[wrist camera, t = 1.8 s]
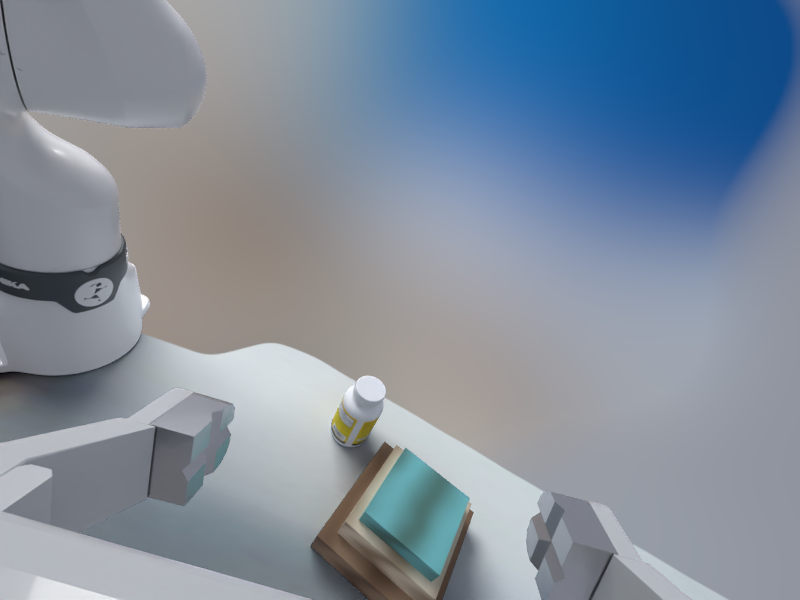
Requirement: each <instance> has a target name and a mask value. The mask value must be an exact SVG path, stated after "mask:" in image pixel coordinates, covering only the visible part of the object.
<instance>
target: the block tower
mask: <svg viewBox="0 0 800 600" xmlns="http://www.w3.org/2000/svg"><path fill="white" fill-rule="evenodd" d="M469 499H470V498H469V497H467V496H466V495H465V494H464V493H462V492H461V491H460V490H459V489H457V488H456V487H455V486H453V485H452V484H451V483H450V482H448V481H447V480H446V479H445V478H443V477H442V476H441V475H440V474H438V473H437V472H436V471H434V470H433V469H432V468H431V467H429V466H428V465H427V464H426V463H424V462H423V461H422V460H421V459H419V458H418V457H417V456H415V455H414V454H413V453H412V452H410V451H409V450H408V449H407V448H405V449H404V451H403V450H402V449H401V448H400V447H398V446H396V447H395V448H394V449H393V448H392V447H391V446H389V445H388V444H387V443H386V442H384V443H383V445H382V446H381V447H380V449H379V450H378V452H377V453H376V454H375V456H374V457H373V459H372V460H371V461H370V463H369V464H368V466H367V467H366V468H365V470H364V471H363V473H362V474H361V475H360V477H359V478H358V480H357V481H356V482H355V484H354V485H353V487H352V488H351V489H350V491H349V492H348V494H347V495H346V496H345V498H344V499H343V501H342V502H341V503H340V505H339V506H338V508H337V509H336V510H335V512H334V513H333V515H332V516H331V517H330V519H329V520H328V522H327V523H326V524H325V526H324V527H323V528H322V530H321V531H320V533H319V534H318V535H317V537H316V538H315V540H314V542H313V543H312V545H311V547H312V548H313V549H314V550H315V551H316V552H317V553H319V554H320V555H321V556H322V557H323V558H324V559H325V560H326V561H327V562H328V563H330V564H331V565H332V566H333V567H334V568H335V569H336V570H337V571H338V572H339V573H341V574H342V575H343V576H344V577H345V578H346V579H347V580H348V581H349V582H350V583H352V584H353V585H354V586H355V587H356V588H357V589H358V590H359V591H360V592H361V593H363V594H364V595H365V596H366V597H367V598H368V599H369V600H442V599H443V596H444V593H445V590H446V588H447V585H448V582H449V579H450V576H451V574H452V571H453V568H454V565H455V563H456V560H457V557H458V554H459V551H460V549H461V546H462V543H463V540H464V538H465V535H466V532H467V529H468V526H469V524H470V521H471V518H472V515H473V513H474V512H472V511H471V510H470V506H471V504H470V503H469V502H468V501H469Z"/></svg>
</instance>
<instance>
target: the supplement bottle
mask: <svg viewBox="0 0 800 600" xmlns="http://www.w3.org/2000/svg"><path fill="white" fill-rule="evenodd" d="M385 394H386V389H385V386H384V384H383V383H382V382H381V381H380V380H379V379H377V378H376V377H373V376H363V377H361V378H359V379H358V381H357V382H356V384H355V385H353V386H351V387H350V388H349V389H348V390H347V391H346V393H345V394H344V397H343V399H342V401H341V403H340V405H339V407H338V409H337V412H336V414H335V416H334V418H333V420H332V423H331V432H332V435H333V437H334V439H335V440H336V441H337V442H338V443H339V444H341V445H343V446H346V447H356V446H359V445H361V444H362V443H363V442H364V441H365V440H366V438H367V437H368V435H369V433H370V432H371V430H372V428H373V427H374V425H375V423H376V421H377V420H378V418H379V416H380V415H381V413H382V411H383V399H384V397H385Z"/></svg>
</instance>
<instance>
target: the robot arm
mask: <svg viewBox="0 0 800 600" xmlns="http://www.w3.org/2000/svg"><path fill="white" fill-rule="evenodd" d="M205 91H206V69H205V63H204V59H203V56H202V52H201V50H200V47H199V45H198V43H197V41H196V39H195V37H194V35H193V33H192V32H191V30H190V29H189V27H188V25H187V24H186V23H185V21H184V20H183V19H182V17H181V16H180V15H179V14H178V13H177V12H176V11H175V10H174V9H173V7H172V6H171V5H170V4H169V3H168V2H167V1H166V0H0V372H10V371H15V372H24V373H30V374H37V375H69V374H76V373H81V372H86V371H90V370H93V369H96V368H99V367H102V366H105V365H107V364H109V363H111V362H113V361H115V360H117V359H119V358H120V357H122V356H123V355H124V354H126V353H127V352H128V351H129V350H130V349H131V348H132V347H133V346H134V345H135V344H136V343H137V341H138V340H139V338H140V335H141V332H142V319H143V316H144V315H145V313H146V312H147V310H148V309H149V307H150V303H149V299H148V298H147V297H146V296H144V295H142V294H140V288H139V283H138V276H137V271H136V267H135V266H134V265H133V264H131V263H129V262H128V250H127V246H126V242H125V239H124V237H123V235H122V234H121V229H120V213H119V199H118V188H117V185H116V183H115V181H114V179H113V177H112V176H111V174H110V173H109V172H108V170H107V169H106V168H105V167H104V166H103V165H102V164H101V163H100V162H98V161H97V160H96V159H95V158H93V157H92V156H91V155H90V154H88V153H87V152H85V151H84V150H82V149H80V148H78V147H76V146H75V145H73V144H71V143H69V142H67V141H65V140H62V139H61V138H59V137H57V136H55V135H53V134H52V133H50V132H49V131H47V130H46V129H44V128H43V127H41V125H39V124H38V123H37V122H36V121H35V120H34V119H33V118H32V117H31V116H30V115H29V114H28V113H27V112H26V111H35V112H41V113H46V114H52V115H58V116H63V117H69V118H75V119H80V120H86V121H92V122H97V123H103V124H110V125H114V126H120V127H126V128H181V127H183V126H184V125H185V124H187V123H188V122H189V121H190V120H191V119H192V118H193V117H194V116H195V115H196V113H197V112H198V110H199V109H200V107H201V104H202V102H203V99H204V96H205ZM234 411H235V407H234V405H233V404H232V403H229V402H226V401H222V400H219V399H216V398H212V397H209V396H206V395H202V394H199V393H195V392H192V391H189V390H185V389H181V388H173V389H171V390H169V391H168V392H166V393H165V394H163V395H162V396H160V397H159V398H157V399H156V400H154V401H153V402H151V403H150V404H148V405H147V406H145V407H144V408H142V409H141V410H139V411H138V412H136V413H135V414H133V415H132V416H130V417H129V418H127V419H126V418H122V417H118V418H114V419H109V420H104V421H100V422H95V423H91V424H86V425H81V426H77V427H72V428H68V429H63V430H58V431H54V432H49V433H45V434H40V435H35V436H31V437H26V438H22V439H17V440H12V441H8V442H3V443H0V600H313V599H309V598H306V597H302V596H299V595H295V594H292V593H288V592H285V591H281V590H278V589H274V588H271V587H267V586H263V585H260V584H256V583H253V582H249V581H246V580H242V579H239V578H235V577H232V576H228V575H225V574H221V573H218V572H214V571H211V570H207V569H204V568H200V567H197V566H193V565H190V564H186V563H182V562H179V561H175V560H172V559H168V558H165V557H161V556H158V555H154V554H151V553H147V552H144V551H140V550H137V549H133V548H130V547H126V546H123V545H119V544H116V543H112V542H109V541H105V540H101V539H98V538H94V537H91V536H87V535H84V534H80V532H82V531H84V530H86V529H88V528H90V527H92V526H94V525H96V524H98V523H100V522H102V521H104V520H106V519H108V518H110V517H112V516H114V515H116V514H118V513H120V512H122V511H124V510H126V509H128V508H130V507H132V506H134V505H136V504H138V503H140V502H142V501H144V500H146V499H147V497H149V498H153V499H157V500H161V501H166V502H170V503H174V504H178V505H182V506H185V505H186V504H187V502H188V501H189V500H190V499H191V498H192V497H193V495H194V494H195V493H196V492H197V491H198V490H199V488H200V487H201V486H202V484H203V477H204V476H205V475H208V474H210V473H212V472H214V471H215V469H216V468H217V467H218V466H219V464H220V463H221V461H222V459H223V457H224V455H225V454H226V451H227V448H228V445H229V441H230V436H231V434H230V432H229V430H228V428H227V425H228V424H229V423H230V422H231V421H232V420H233V418H234ZM538 506H539V509H540V513H538V514H537V515H535V516H534V517H532V518H531V521H530V523H529V526H528V529H527V538H526V544H527V552H528V556H529V559H530V561H531V563H532V564H533V565H534V566H535V567H536V568H537V570H538V573H537V575H536V578H535V580H536V583H537V586H538V590H539V593H540V596H541V599H542V600H692V599H691V598H689V597H688V596H687V595H686V594H685V593H683V592H682V591H681V590H680V589H679V588H678V587H676V586H675V585H674V584H673V583H672V582H670V581H669V580H668V579H667V578H666V577H665V576H663V575H662V574H661V573H660V572H659V571H657V570H656V569H655V568H654V567H653V566H652V565H650V564H648V563H644V562H643V561H642V559H641V558H640V556H639V555H638V553H637V551H636V550H635V548H634V547H633V545H632V543H631V542H630V540H629V539H628V537H627V535H626V534H625V532H624V531H623V529H622V528H621V526H620V524H619V523H618V521H617V520H616V518H615V516H614V515H613V513H612V512H611V510H610V509H609V508H608V507H606V506H605V505H603V504H598V503H594V502H590V501H586V500H580V499H576V498H573V497H569V496H565V495H561V494H557V493H553V492H549V491H544V492H543V493H542V495H541V496H540V499H539V501H538Z"/></svg>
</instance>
